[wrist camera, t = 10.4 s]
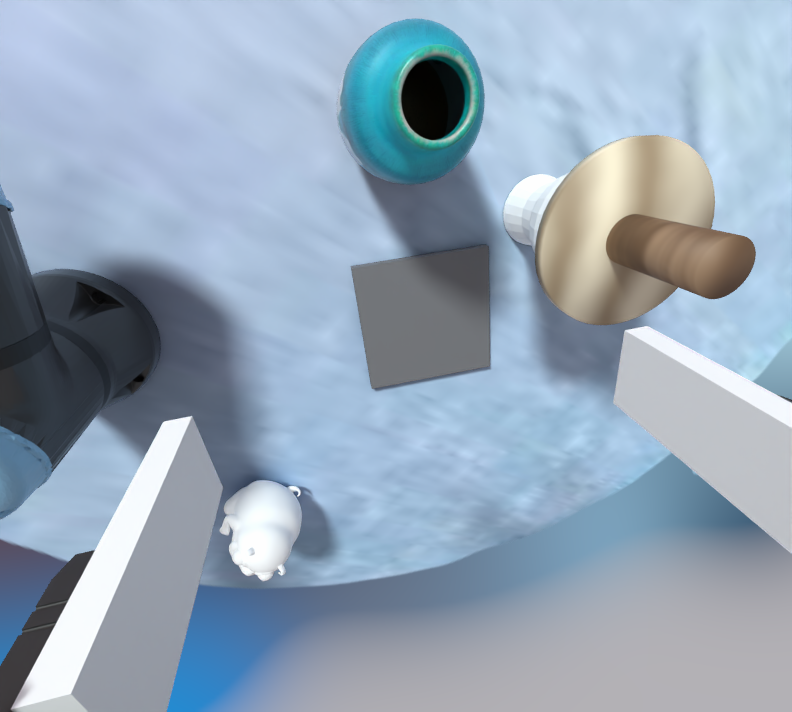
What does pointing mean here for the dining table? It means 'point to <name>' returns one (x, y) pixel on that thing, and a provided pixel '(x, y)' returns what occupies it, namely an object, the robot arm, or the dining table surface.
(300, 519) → the figurine
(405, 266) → the mat
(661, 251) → the lid
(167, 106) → the dining table surface
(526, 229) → the cup
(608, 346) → the dining table surface
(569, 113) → the dining table surface
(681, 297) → the dining table surface
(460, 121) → the vase
